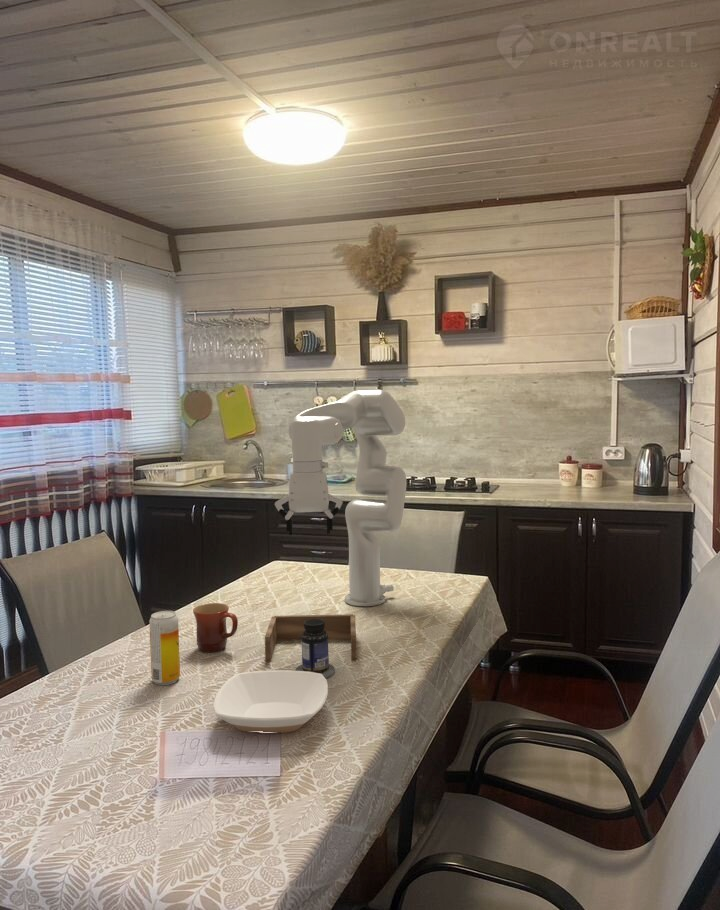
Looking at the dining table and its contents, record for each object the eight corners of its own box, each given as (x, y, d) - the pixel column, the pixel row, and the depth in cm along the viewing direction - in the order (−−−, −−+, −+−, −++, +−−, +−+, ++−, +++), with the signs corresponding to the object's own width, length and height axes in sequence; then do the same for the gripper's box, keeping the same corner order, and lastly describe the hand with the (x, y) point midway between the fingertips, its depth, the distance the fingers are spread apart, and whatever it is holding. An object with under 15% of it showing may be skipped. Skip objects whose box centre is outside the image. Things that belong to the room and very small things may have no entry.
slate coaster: (323, 661, 157) (323, 659, 157) (342, 674, 149) (342, 671, 149) (288, 669, 152) (288, 667, 152) (306, 683, 145) (306, 681, 145)
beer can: (185, 676, 149) (183, 611, 148) (169, 687, 143) (167, 620, 142) (162, 673, 151) (160, 609, 150) (145, 684, 145) (143, 617, 144)
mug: (186, 651, 164) (185, 611, 164) (209, 640, 172) (207, 601, 171) (226, 659, 159) (225, 617, 158) (247, 646, 167) (246, 606, 166)
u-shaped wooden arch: (272, 638, 173) (272, 615, 172) (355, 636, 173) (355, 614, 173) (265, 661, 157) (264, 636, 157) (356, 659, 158) (356, 635, 157)
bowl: (230, 693, 140) (229, 669, 140) (332, 694, 140) (331, 669, 139) (203, 746, 119) (202, 718, 118) (323, 747, 118) (323, 718, 118)
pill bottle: (330, 664, 154) (330, 617, 153) (326, 675, 148) (325, 626, 147) (304, 663, 154) (303, 617, 153) (299, 674, 148) (298, 626, 147)
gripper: (341, 464, 172) (343, 529, 174) (274, 466, 172) (277, 531, 173) (341, 468, 165) (343, 535, 167) (272, 470, 164) (274, 538, 166)
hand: (309, 533), depth 170 cm, fingers open, 9 cm apart
